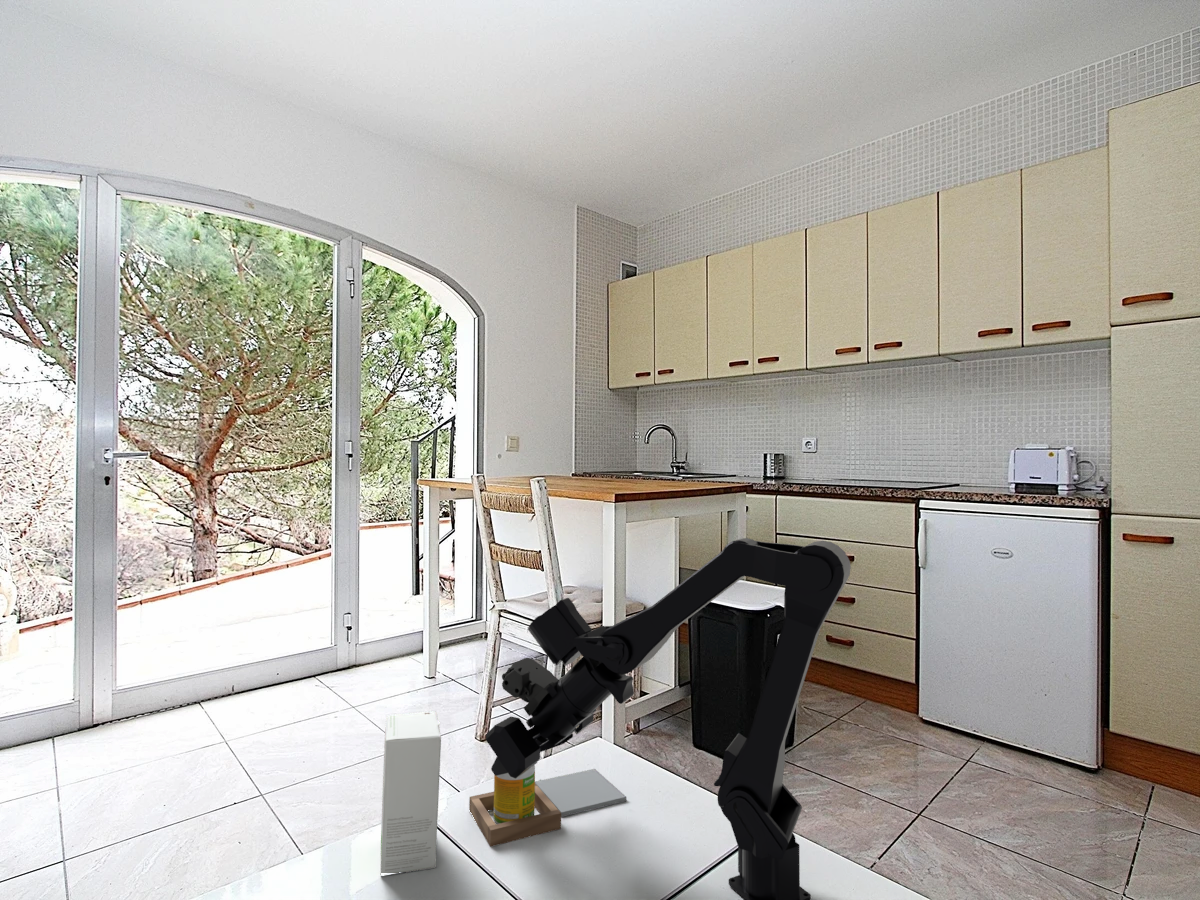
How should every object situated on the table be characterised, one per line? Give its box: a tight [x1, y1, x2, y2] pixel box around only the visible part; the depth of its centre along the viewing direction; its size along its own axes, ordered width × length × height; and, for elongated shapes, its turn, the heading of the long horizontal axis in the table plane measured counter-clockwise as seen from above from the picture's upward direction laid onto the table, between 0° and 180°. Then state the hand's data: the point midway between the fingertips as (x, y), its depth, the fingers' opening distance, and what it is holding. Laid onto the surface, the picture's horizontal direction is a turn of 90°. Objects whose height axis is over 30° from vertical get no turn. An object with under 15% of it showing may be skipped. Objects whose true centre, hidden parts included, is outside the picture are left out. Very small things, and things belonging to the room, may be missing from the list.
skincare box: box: [380, 710, 442, 874], centre depth 79 cm, size 8×7×16 cm
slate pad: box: [535, 768, 627, 818], centre depth 95 cm, size 10×10×1 cm
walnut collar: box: [468, 784, 562, 848], centre depth 87 cm, size 10×10×2 cm
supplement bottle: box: [493, 764, 536, 824], centre depth 87 cm, size 5×5×10 cm
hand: (506, 763), depth 88 cm, fingers closed on supplement bottle, 5 cm apart
